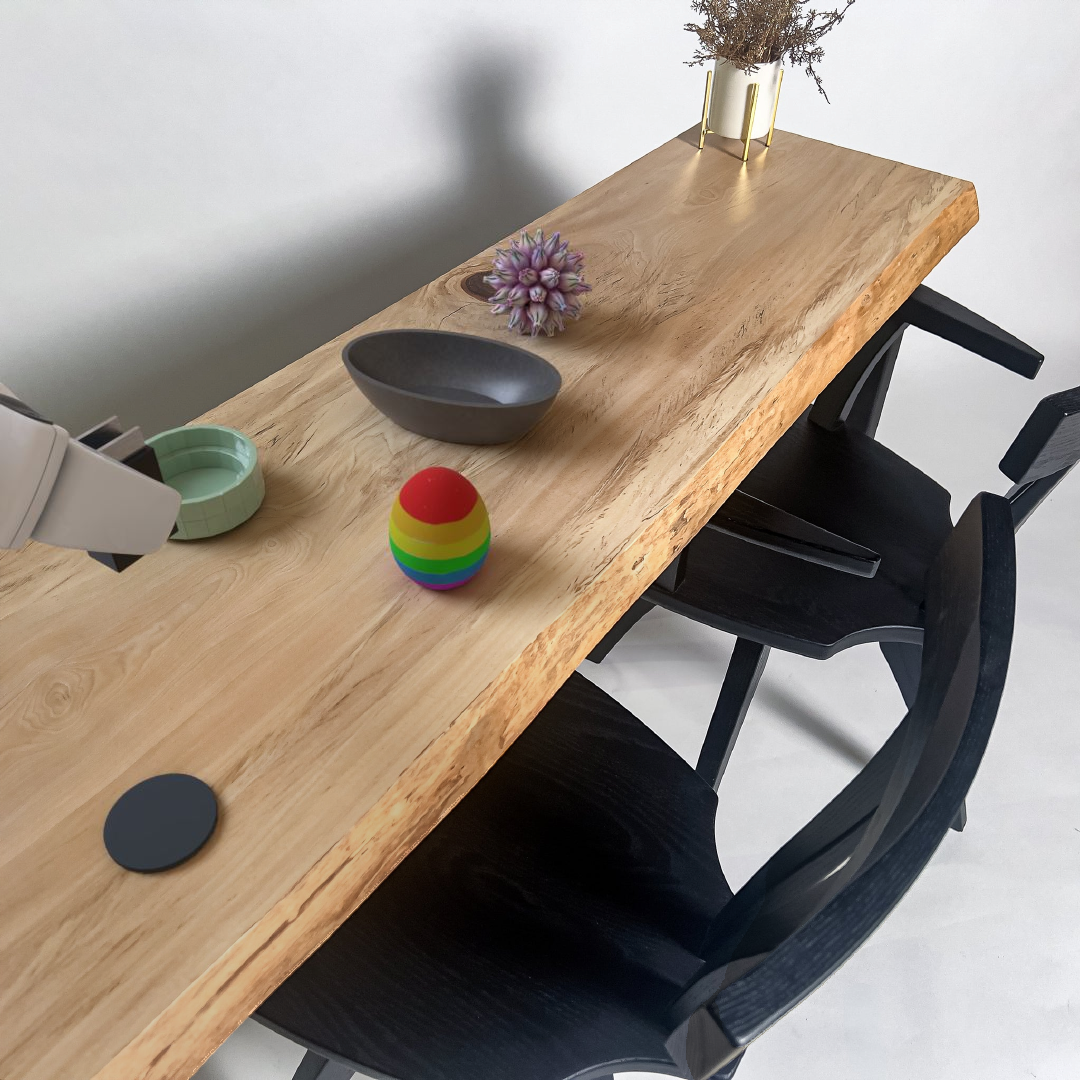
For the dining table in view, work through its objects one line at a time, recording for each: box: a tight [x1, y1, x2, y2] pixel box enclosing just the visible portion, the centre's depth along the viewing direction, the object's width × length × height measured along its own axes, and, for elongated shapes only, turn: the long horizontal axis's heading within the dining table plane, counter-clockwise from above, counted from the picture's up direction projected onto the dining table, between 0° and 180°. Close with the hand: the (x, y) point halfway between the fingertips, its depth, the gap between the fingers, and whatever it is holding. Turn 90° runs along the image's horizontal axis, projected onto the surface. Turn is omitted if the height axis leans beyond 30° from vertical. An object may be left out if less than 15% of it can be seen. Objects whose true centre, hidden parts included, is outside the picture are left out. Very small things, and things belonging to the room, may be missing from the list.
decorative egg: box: [388, 466, 492, 591], centre depth 77 cm, size 8×8×10 cm
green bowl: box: [144, 423, 266, 540], centre depth 85 cm, size 11×11×4 cm
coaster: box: [102, 772, 219, 874], centre depth 62 cm, size 7×7×1 cm
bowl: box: [341, 328, 563, 446], centre depth 94 cm, size 12×22×6 cm, turn 71°
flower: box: [482, 228, 593, 340], centre depth 106 cm, size 12×12×12 cm
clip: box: [74, 415, 179, 574], centre depth 61 cm, size 5×3×9 cm, turn 148°
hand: (122, 480), depth 61 cm, fingers closed on clip, 3 cm apart
